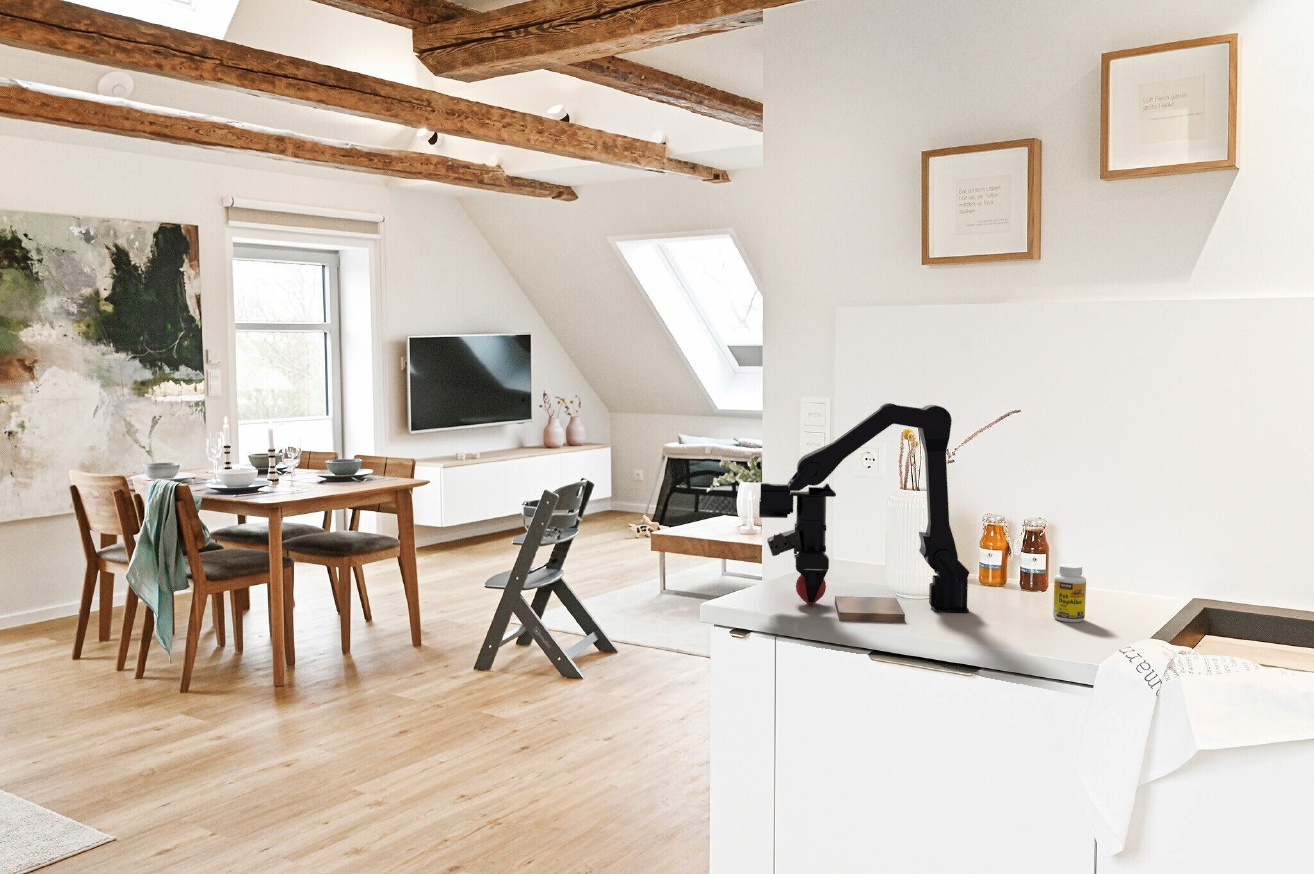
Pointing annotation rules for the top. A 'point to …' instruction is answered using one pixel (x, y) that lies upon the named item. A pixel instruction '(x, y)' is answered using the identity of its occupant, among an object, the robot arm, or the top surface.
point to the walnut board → (869, 609)
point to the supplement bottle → (1069, 594)
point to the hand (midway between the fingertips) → (809, 596)
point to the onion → (802, 590)
